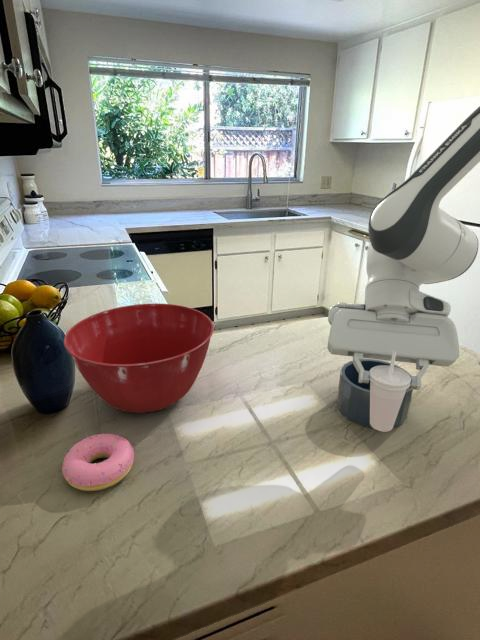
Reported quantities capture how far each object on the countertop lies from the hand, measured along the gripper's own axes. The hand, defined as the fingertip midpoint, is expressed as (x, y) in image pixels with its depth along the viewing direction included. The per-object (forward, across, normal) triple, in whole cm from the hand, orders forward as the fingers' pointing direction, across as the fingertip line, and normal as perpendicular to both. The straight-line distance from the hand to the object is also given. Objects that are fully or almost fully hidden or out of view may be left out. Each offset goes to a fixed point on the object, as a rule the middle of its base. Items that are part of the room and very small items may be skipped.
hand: (389, 385), depth 64 cm
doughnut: (+20, -44, 0) cm, 48 cm away
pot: (0, 0, +19) cm, 19 cm away
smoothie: (+5, 0, +6) cm, 8 cm away
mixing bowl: (+4, -46, +15) cm, 49 cm away
